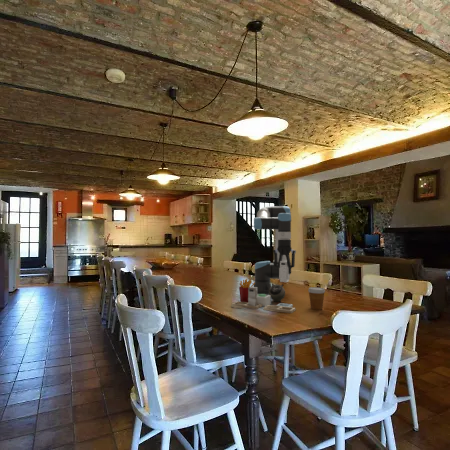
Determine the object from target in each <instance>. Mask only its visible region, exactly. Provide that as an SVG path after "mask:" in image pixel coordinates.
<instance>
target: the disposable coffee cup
mask: <svg viewBox="0 0 450 450" xmlns="http://www.w3.org/2000/svg"><path fill="white" fill-rule="evenodd" d="M325 293H326V290H325V288H324V287H318V286H317V287H315V286H314V287H312V286H311V287H308V294H309V303H310V309H314V310H320V311H323V306H324V298H325Z"/></svg>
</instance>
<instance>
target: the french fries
mask: <svg viewBox="0 0 450 450" xmlns="http://www.w3.org/2000/svg"><path fill="white" fill-rule="evenodd" d="M254 284H255V281H254V282H253V281H252V279H251V278H250V279H249V280H248V278H246V279H243V280H240V283H239V286H238V290H239V300H240V301H239V302H248V288H249V287H253V286H254Z"/></svg>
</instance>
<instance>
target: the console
mask: <svg viewBox="0 0 450 450" xmlns="http://www.w3.org/2000/svg"><path fill="white" fill-rule="evenodd" d="M271 300H272V299H271V295H269V294H266V297H260V296H258V294H257V304H262V307H266V306H267V305H272V303H271Z"/></svg>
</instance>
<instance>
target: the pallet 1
mask: <svg viewBox="0 0 450 450" xmlns="http://www.w3.org/2000/svg"><path fill="white" fill-rule="evenodd" d="M257 295H258V294H257V287H253V286H252V287H251V286H250V287H249V288H248V302H240V301H235V302H233V303H231V308H236V309H241V310H242V309H244V308H246V309H253V310H258V309H260V308H262V307H263V306H262V304H257Z"/></svg>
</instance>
